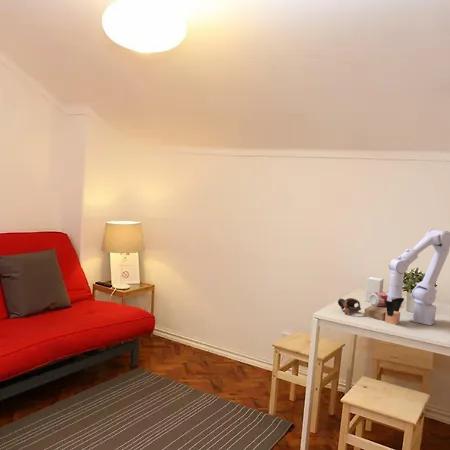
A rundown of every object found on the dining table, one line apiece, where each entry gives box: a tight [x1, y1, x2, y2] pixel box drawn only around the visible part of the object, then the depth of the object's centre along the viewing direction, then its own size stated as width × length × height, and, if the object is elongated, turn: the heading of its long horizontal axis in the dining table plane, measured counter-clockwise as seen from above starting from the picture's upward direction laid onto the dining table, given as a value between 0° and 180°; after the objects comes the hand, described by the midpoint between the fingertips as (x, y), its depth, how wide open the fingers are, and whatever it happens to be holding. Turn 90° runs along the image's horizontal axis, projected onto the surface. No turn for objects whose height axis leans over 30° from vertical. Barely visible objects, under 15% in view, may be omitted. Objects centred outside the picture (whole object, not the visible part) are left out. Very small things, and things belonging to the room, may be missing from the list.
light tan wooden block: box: [363, 305, 387, 322], centre depth 227 cm, size 9×9×4 cm
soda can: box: [369, 291, 389, 307], centre depth 249 cm, size 7×7×12 cm
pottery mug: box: [337, 297, 362, 316], centre depth 231 cm, size 12×10×8 cm
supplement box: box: [365, 276, 385, 303], centre depth 257 cm, size 7×7×13 cm
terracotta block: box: [384, 311, 401, 326], centre depth 219 cm, size 5×5×5 cm
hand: (392, 314), depth 219 cm, fingers open, 7 cm apart
